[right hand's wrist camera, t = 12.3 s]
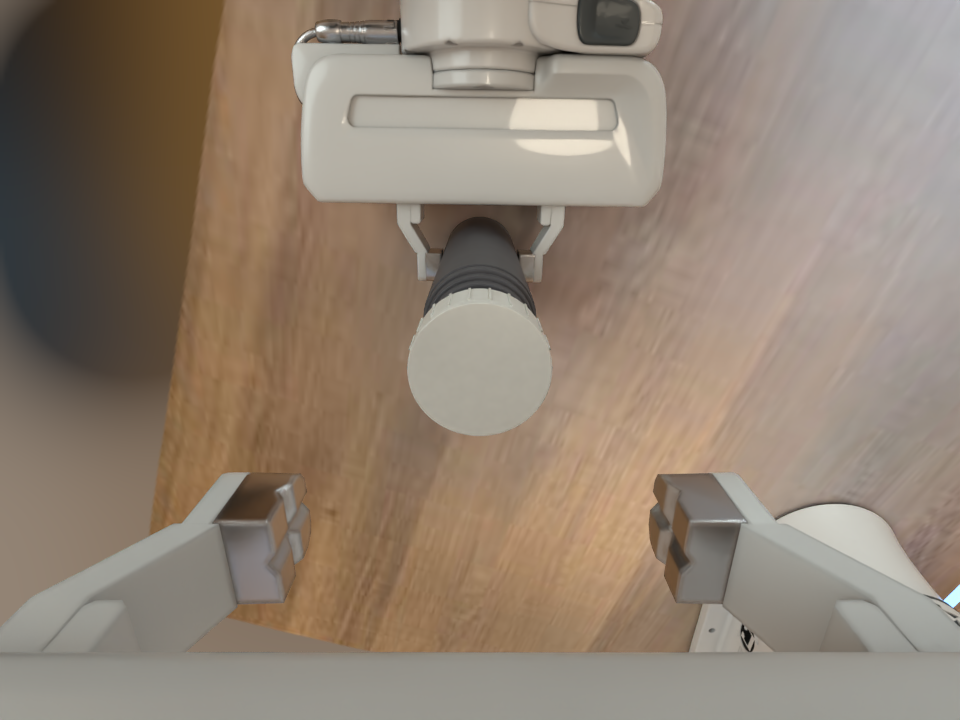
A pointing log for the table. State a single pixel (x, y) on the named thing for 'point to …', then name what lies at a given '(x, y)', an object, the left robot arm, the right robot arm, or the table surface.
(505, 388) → the cap
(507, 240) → the bottle
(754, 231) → the table surface
